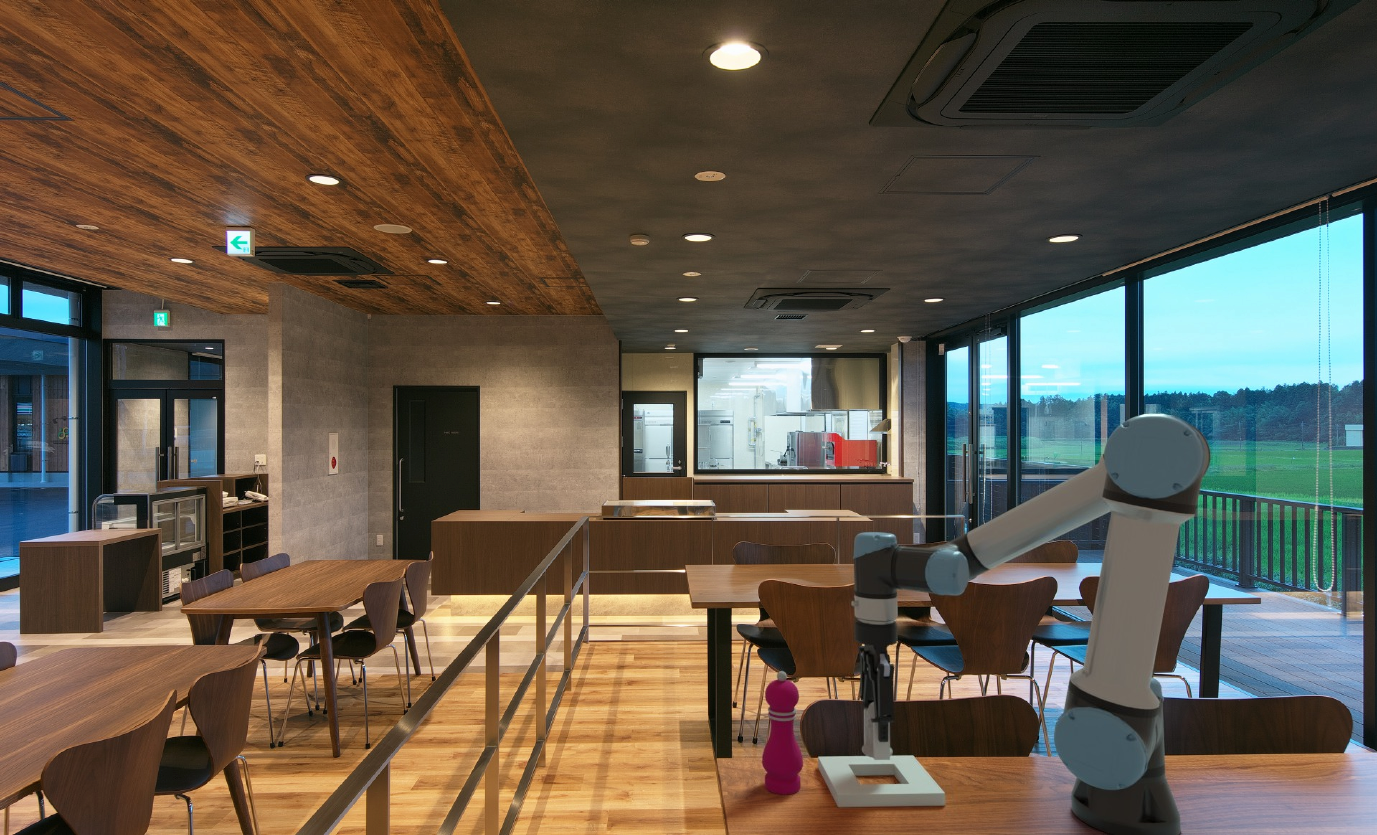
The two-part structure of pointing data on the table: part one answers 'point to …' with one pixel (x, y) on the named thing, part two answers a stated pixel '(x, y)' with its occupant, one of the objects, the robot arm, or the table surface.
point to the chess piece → (871, 733)
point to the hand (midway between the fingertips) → (876, 751)
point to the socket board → (850, 793)
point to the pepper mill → (782, 738)
